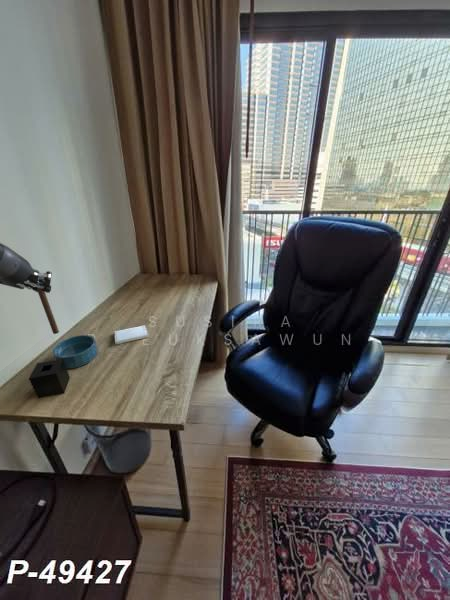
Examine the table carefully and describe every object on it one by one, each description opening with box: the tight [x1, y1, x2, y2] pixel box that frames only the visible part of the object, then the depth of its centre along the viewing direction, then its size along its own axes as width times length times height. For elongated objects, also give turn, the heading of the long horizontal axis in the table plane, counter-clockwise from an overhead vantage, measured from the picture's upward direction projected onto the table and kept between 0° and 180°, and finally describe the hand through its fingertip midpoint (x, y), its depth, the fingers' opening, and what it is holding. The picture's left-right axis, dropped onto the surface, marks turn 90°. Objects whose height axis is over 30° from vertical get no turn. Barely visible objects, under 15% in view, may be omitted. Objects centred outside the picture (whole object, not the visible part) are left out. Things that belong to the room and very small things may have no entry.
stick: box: [36, 287, 60, 335], centre depth 76 cm, size 2×2×18 cm
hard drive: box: [114, 325, 149, 345], centre depth 104 cm, size 2×8×12 cm
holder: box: [28, 359, 71, 399], centre depth 77 cm, size 7×7×8 cm
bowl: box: [52, 334, 99, 369], centre depth 90 cm, size 13×13×6 cm
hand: (45, 289), depth 75 cm, fingers closed on stick, 1 cm apart
